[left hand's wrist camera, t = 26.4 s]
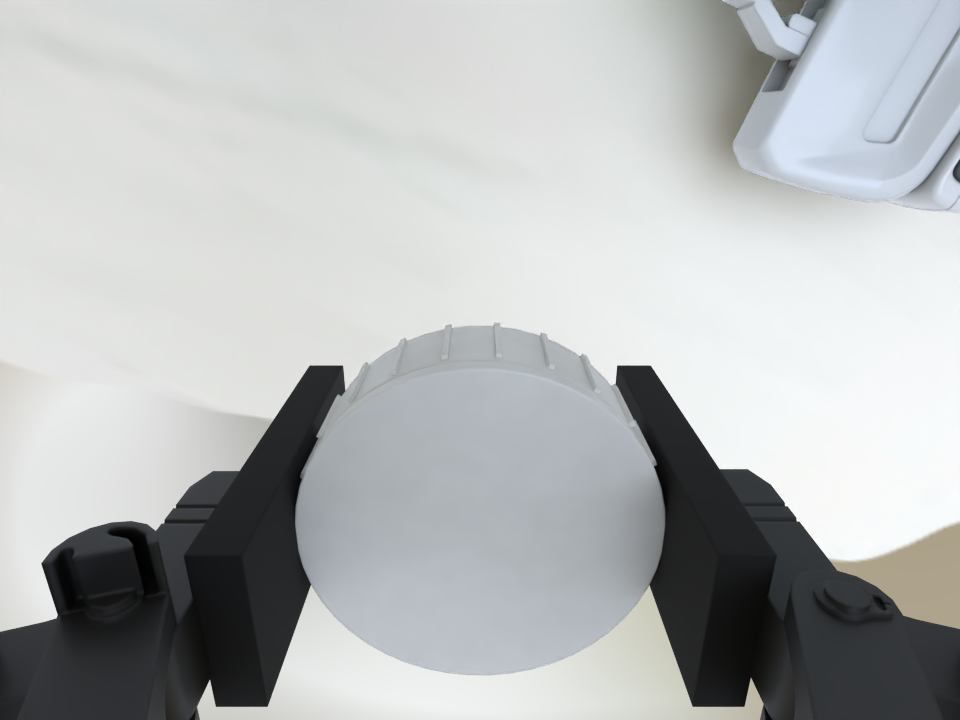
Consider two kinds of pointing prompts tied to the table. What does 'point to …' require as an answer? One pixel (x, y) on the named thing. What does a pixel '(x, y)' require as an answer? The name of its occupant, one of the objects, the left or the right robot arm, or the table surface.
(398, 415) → the lid
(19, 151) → the table surface
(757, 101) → the right robot arm
